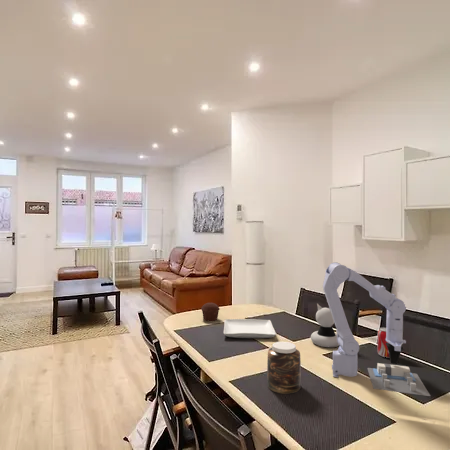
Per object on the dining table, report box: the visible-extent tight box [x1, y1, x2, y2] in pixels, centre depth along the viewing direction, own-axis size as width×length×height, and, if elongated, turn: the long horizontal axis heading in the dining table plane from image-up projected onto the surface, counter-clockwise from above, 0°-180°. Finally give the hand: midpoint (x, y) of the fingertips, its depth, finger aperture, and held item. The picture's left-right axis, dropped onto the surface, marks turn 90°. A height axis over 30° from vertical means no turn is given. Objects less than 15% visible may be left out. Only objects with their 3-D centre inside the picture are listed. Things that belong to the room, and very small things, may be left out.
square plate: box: [223, 318, 277, 339], centre depth 183 cm, size 27×27×4 cm
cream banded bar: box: [376, 362, 411, 377], centre depth 129 cm, size 11×3×3 cm, turn 73°
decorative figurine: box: [310, 303, 340, 348], centre depth 166 cm, size 15×15×20 cm
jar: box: [266, 341, 302, 395], centre depth 121 cm, size 12×12×15 cm
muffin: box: [200, 302, 221, 322], centre depth 207 cm, size 12×11×10 cm
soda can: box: [376, 326, 390, 359], centre depth 151 cm, size 7×7×12 cm
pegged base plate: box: [367, 367, 431, 397], centre depth 124 cm, size 18×18×4 cm
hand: (393, 363), depth 129 cm, fingers closed
